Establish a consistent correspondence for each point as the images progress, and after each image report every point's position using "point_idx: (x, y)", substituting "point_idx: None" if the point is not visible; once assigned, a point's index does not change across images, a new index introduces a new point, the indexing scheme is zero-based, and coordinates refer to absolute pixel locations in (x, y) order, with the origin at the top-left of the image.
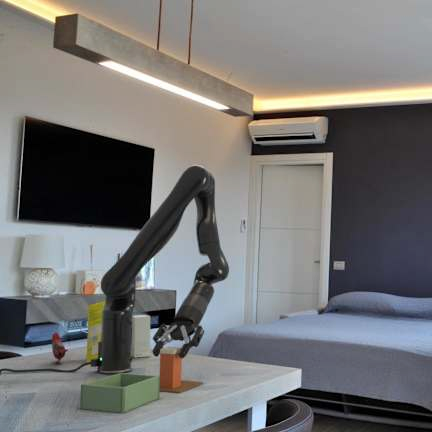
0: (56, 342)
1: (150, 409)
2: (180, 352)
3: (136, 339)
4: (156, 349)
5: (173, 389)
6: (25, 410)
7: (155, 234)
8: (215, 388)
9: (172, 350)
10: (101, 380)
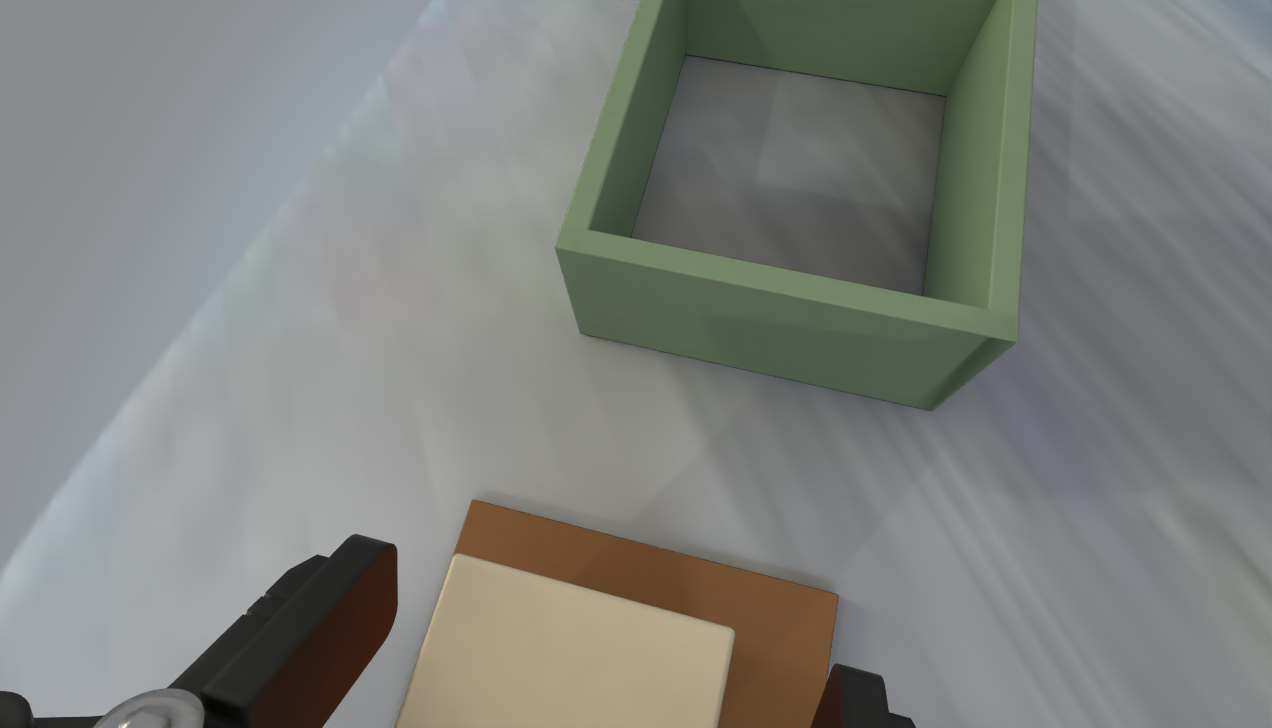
0: None
1: (543, 107)
2: (353, 554)
3: None
4: (841, 717)
5: (544, 567)
6: (1256, 33)
7: None
8: None
9: (483, 560)
10: (1001, 100)
